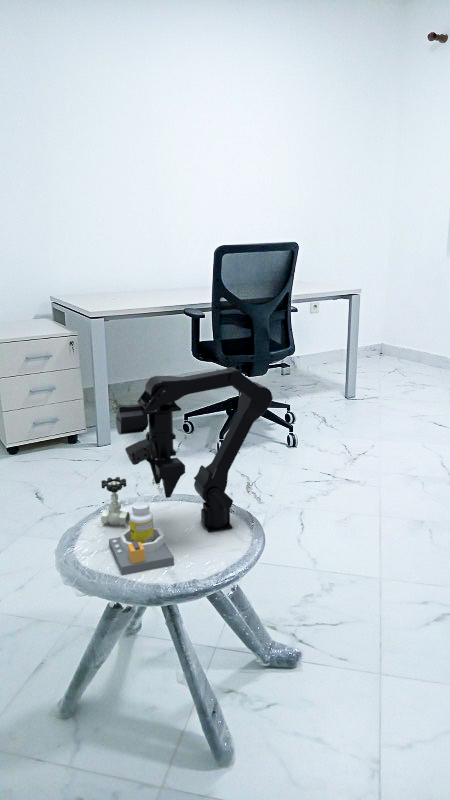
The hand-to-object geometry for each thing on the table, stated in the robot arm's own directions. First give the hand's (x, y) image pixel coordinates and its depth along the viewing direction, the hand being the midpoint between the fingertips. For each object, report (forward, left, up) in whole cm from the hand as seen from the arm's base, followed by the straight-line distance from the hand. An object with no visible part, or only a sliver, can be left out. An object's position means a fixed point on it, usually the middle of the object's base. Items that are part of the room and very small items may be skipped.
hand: (162, 490), depth 154 cm
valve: (+10, -10, -12) cm, 19 cm away
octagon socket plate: (+8, +8, -12) cm, 16 cm away
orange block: (+10, +13, -10) cm, 19 cm away
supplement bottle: (+7, +6, -10) cm, 14 cm away
